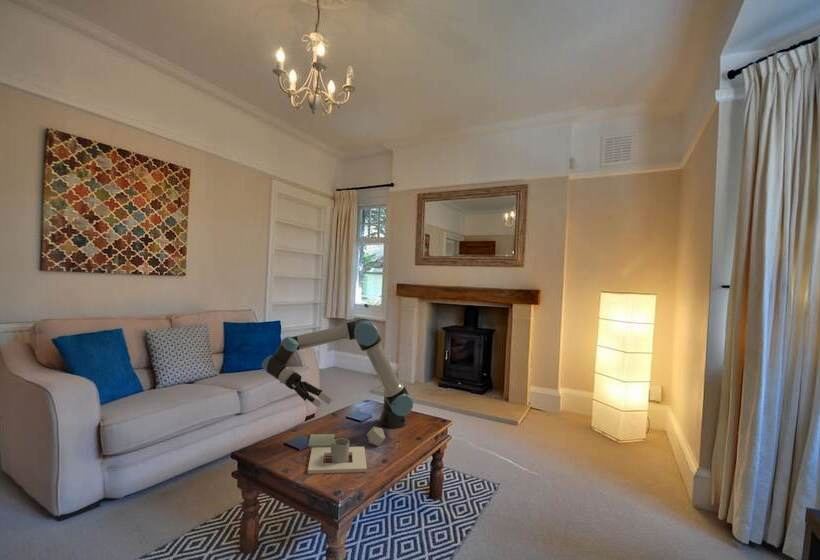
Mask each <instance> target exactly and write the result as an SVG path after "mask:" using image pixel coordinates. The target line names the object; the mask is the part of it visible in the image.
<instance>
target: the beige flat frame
mask: <svg viewBox="0 0 820 560" xmlns="http://www.w3.org/2000/svg"><path fill="white" fill-rule="evenodd" d="M310 451H311V453H310V455H309V456H310V457H309V461H308V468H307V475H310V474H311V475H312V474H314V475H315V474H317V475H319V474H344V473H345V474H348V473H367V472H368V471H367V469H368V468H367V459H366V450H365V446H349V456H351V458H352V459H351V461H352V462H348V463H332V462H325V463H324V458H325V457H332V453H331V447H311V450H310Z"/></svg>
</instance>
